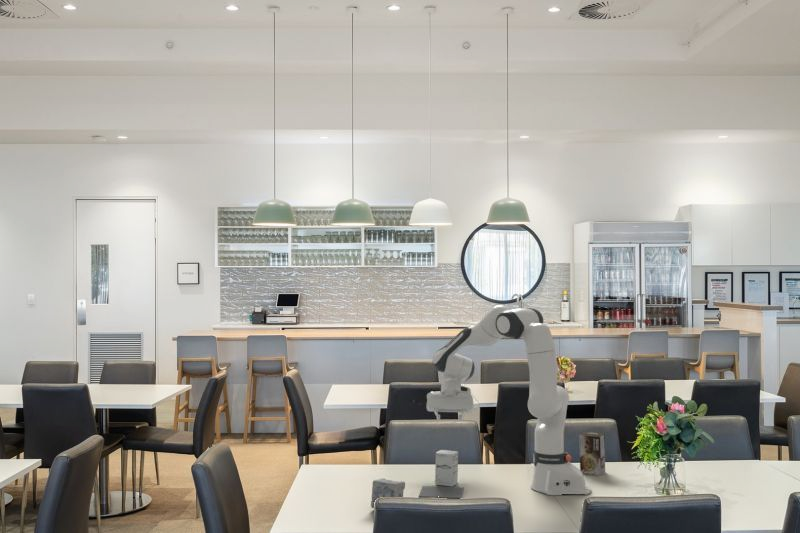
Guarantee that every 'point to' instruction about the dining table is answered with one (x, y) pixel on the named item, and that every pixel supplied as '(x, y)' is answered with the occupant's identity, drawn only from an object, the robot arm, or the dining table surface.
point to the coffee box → (592, 453)
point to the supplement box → (446, 468)
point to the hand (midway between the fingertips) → (449, 419)
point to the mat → (441, 492)
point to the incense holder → (386, 489)
